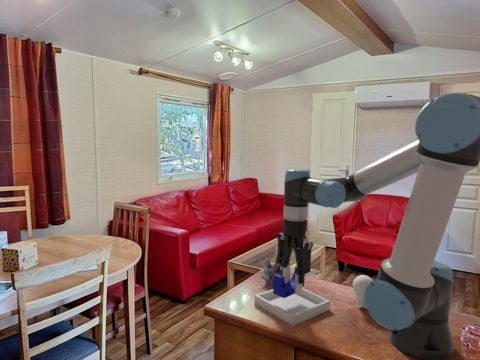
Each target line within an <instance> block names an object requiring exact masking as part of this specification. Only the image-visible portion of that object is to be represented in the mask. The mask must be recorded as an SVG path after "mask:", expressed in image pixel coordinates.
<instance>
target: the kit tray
mask: <svg viewBox="0 0 480 360" xmlns="http://www.w3.org/2000/svg"><path fill="white" fill-rule="evenodd" d="M254 304H255V305H256V306H257V307H259V308H261V309H262V310H264V311H266V312H268V313H269V314H271V315H272V316H275V317H276V318H277V319H279V320H282V321H283V322H285V323H286V324H288V325H289V326H291V327H294V326H297V325H299V324H301V323H304V322H306V321H308V320H311V319H312V318H315V317H317V316H320V315H321V314H322V315H323V313H326V312H328V311H330V308H331V300H329V299H327V298H325V297H323V296H321V295H318V294H316V293H314V292H312V291H310V290H307V289H306V288H303V287H302V292H300V293H297V294H293V295H291V296H288V297H286V298H282V297H280V296H278V295H276V294H273V289H269V290H266V291H263V292H260V293H257V294H255V295H254Z"/></svg>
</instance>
